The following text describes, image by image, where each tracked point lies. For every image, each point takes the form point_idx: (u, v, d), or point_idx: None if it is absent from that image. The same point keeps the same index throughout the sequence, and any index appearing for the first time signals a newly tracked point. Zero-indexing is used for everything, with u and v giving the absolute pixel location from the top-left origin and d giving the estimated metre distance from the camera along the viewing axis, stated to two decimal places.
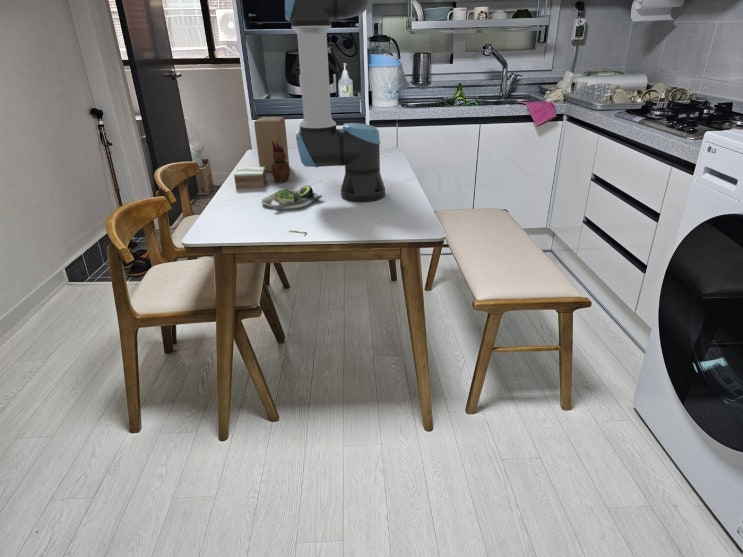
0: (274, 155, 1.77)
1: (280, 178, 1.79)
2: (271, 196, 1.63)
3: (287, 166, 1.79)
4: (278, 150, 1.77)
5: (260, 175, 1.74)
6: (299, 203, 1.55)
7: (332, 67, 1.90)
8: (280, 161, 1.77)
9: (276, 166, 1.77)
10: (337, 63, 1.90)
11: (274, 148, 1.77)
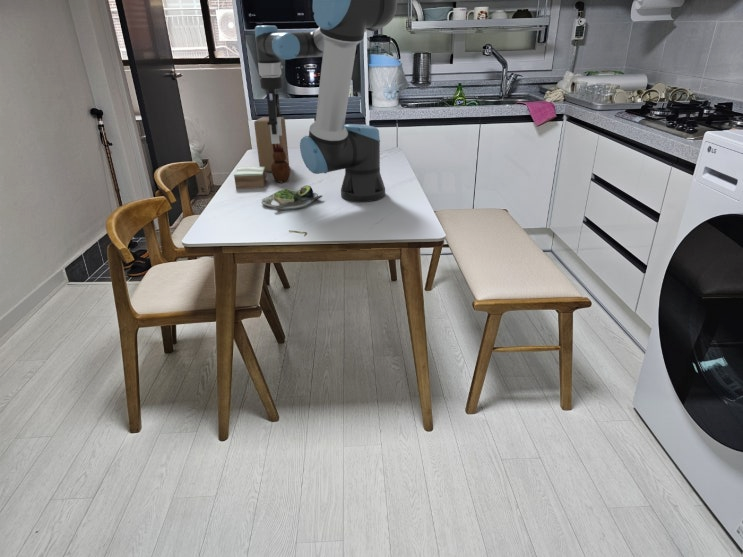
0: (274, 155, 1.77)
1: (280, 178, 1.79)
2: (271, 196, 1.63)
3: (287, 166, 1.79)
4: (278, 150, 1.77)
5: (260, 175, 1.74)
6: (299, 203, 1.55)
7: None
8: (280, 161, 1.77)
9: (276, 166, 1.77)
10: None
11: (274, 148, 1.77)
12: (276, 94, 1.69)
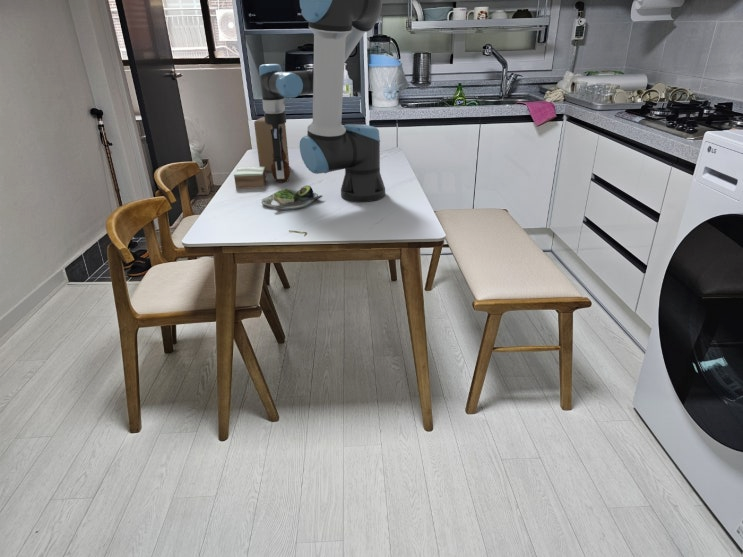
0: None
1: None
2: (271, 196, 1.63)
3: (287, 166, 1.78)
4: None
5: (260, 175, 1.74)
6: (299, 203, 1.55)
7: None
8: None
9: None
10: None
11: None
12: (280, 128, 1.75)
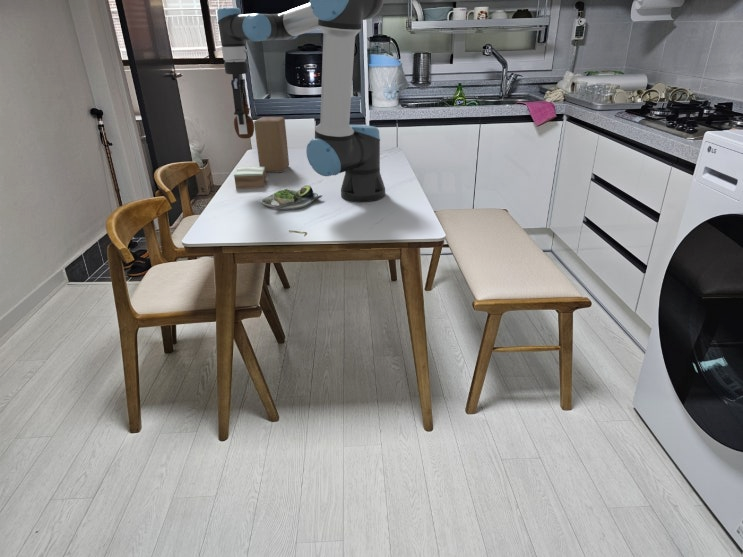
0: None
1: (243, 134, 1.69)
2: (271, 196, 1.63)
3: (250, 121, 1.68)
4: None
5: (260, 175, 1.74)
6: (299, 203, 1.55)
7: None
8: None
9: None
10: None
11: None
12: (242, 79, 1.64)
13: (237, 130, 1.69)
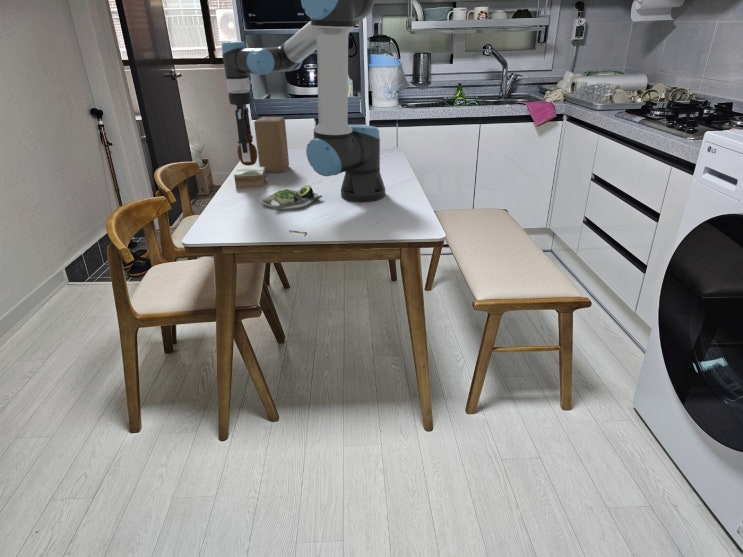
0: None
1: None
2: (271, 196, 1.63)
3: (253, 149, 1.73)
4: None
5: (260, 175, 1.74)
6: (299, 203, 1.55)
7: None
8: None
9: None
10: (238, 131, 1.65)
11: None
12: (245, 109, 1.69)
13: (241, 158, 1.73)
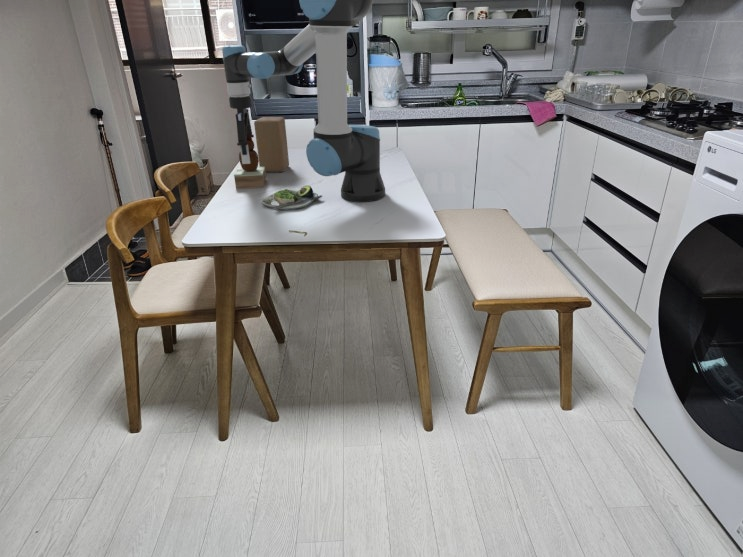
0: None
1: (248, 167, 1.74)
2: (271, 196, 1.63)
3: (255, 155, 1.73)
4: None
5: (260, 175, 1.74)
6: (299, 203, 1.55)
7: None
8: None
9: None
10: None
11: None
12: (246, 113, 1.69)
13: None
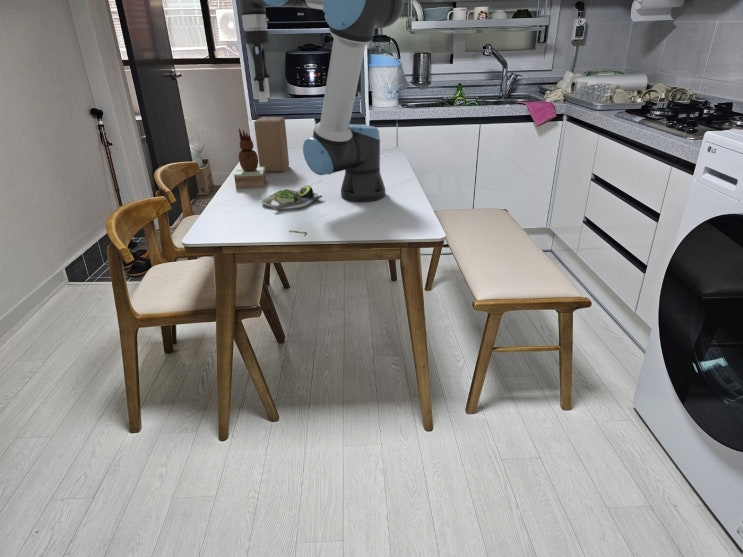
0: (241, 143, 1.72)
1: (248, 167, 1.74)
2: (271, 196, 1.63)
3: (254, 155, 1.73)
4: (245, 138, 1.72)
5: (260, 175, 1.74)
6: (299, 203, 1.55)
7: None
8: (247, 150, 1.72)
9: (243, 155, 1.72)
10: None
11: (241, 136, 1.72)
12: None
13: (242, 164, 1.74)
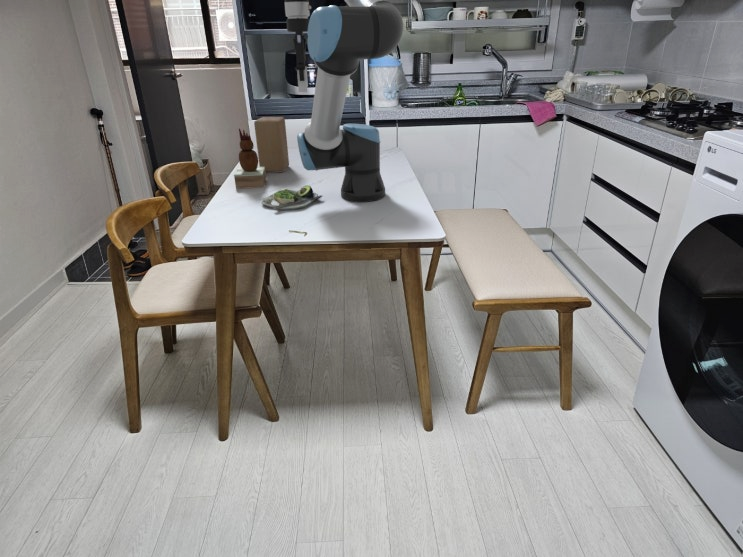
0: (241, 143, 1.72)
1: (248, 167, 1.74)
2: (271, 196, 1.63)
3: (254, 155, 1.73)
4: (245, 138, 1.72)
5: (260, 175, 1.74)
6: (299, 203, 1.55)
7: None
8: (247, 150, 1.72)
9: (243, 155, 1.72)
10: (296, 56, 1.51)
11: (241, 136, 1.72)
12: None
13: (242, 164, 1.74)
